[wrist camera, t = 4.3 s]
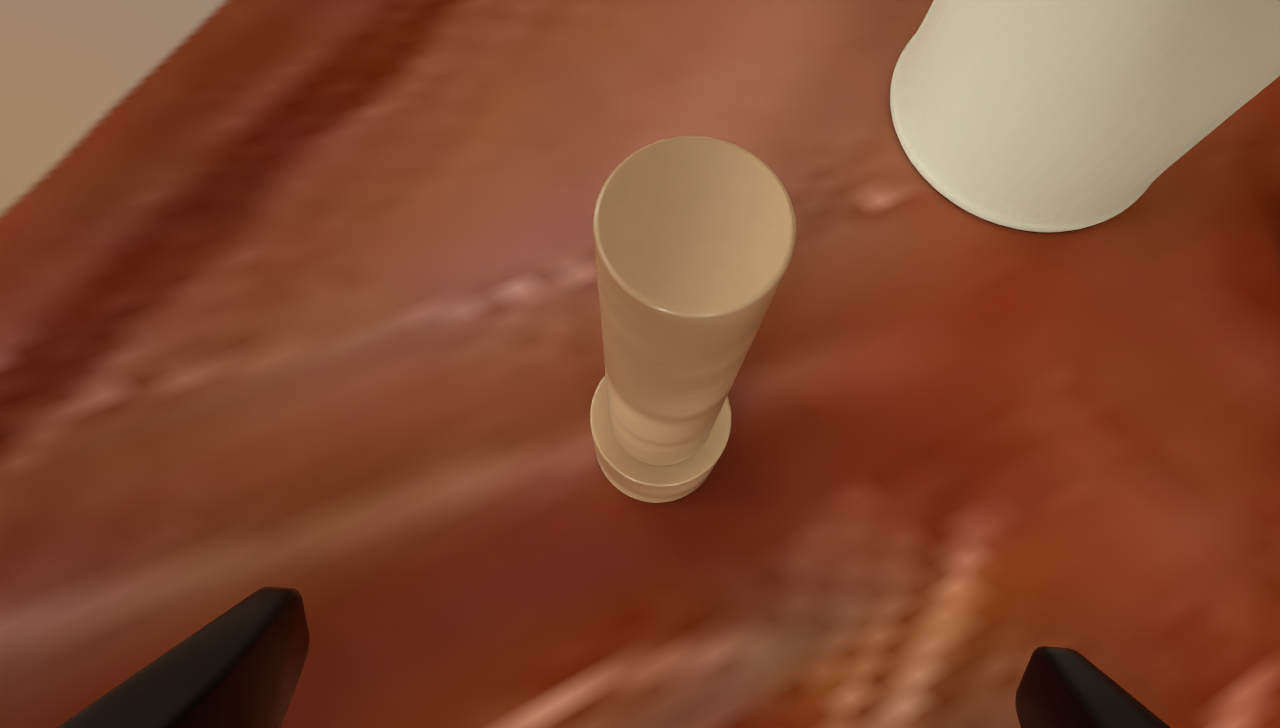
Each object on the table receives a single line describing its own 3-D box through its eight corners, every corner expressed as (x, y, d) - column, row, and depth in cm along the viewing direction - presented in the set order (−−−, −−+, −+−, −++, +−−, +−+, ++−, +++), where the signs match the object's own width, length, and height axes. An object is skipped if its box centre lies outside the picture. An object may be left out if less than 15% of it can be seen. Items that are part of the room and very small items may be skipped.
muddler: (723, 390, 22) (843, 118, 10) (711, 511, 21) (830, 374, 9) (604, 374, 22) (576, 86, 10) (585, 493, 21) (529, 334, 9)
